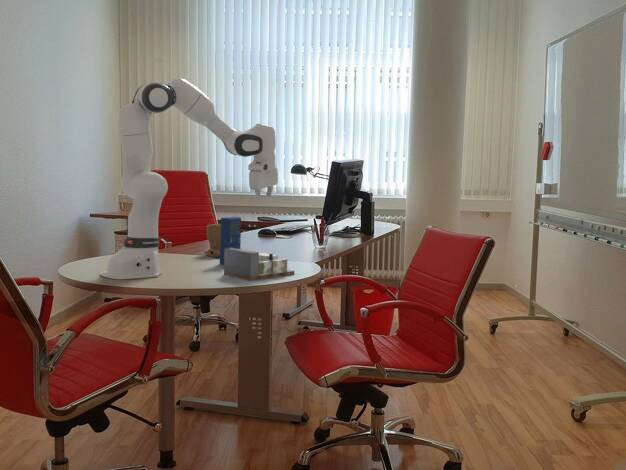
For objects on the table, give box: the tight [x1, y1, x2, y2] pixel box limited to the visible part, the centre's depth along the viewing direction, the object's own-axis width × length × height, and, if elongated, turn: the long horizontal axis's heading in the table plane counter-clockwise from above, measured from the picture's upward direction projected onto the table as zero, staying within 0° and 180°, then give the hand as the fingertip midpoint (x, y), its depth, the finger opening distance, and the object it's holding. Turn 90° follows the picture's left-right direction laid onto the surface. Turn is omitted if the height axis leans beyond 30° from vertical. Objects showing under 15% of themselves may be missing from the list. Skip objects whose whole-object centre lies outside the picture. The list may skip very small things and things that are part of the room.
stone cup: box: [204, 223, 221, 258], centre depth 303 cm, size 15×12×15 cm
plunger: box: [259, 252, 279, 262], centre depth 257 cm, size 6×12×6 cm, turn 48°
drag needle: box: [268, 253, 274, 260], centre depth 250 cm, size 1×1×2 cm, turn 48°
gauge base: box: [223, 258, 295, 282], centre depth 255 cm, size 24×15×6 cm, turn 138°
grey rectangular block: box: [223, 248, 260, 277], centre depth 248 cm, size 4×15×9 cm, turn 48°
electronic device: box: [219, 216, 242, 266], centre depth 280 cm, size 10×5×20 cm, turn 152°
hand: (264, 198), depth 267 cm, fingers open, 8 cm apart
